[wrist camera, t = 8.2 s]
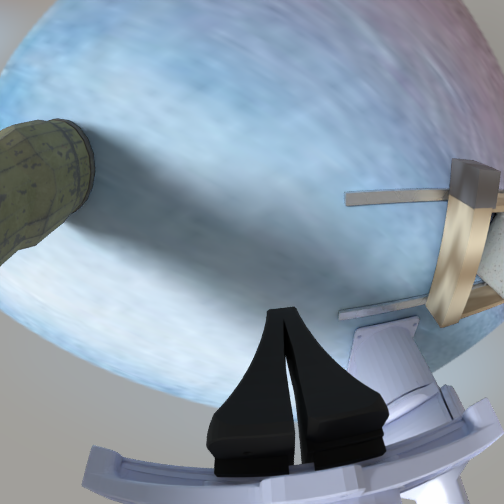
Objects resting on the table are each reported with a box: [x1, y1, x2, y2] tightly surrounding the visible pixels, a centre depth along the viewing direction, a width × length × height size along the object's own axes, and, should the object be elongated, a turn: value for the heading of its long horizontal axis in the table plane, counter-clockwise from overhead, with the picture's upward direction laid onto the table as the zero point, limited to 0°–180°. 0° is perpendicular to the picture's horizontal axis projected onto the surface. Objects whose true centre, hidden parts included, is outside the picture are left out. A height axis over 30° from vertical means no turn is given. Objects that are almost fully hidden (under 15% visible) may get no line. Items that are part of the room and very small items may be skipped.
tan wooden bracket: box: [426, 158, 504, 328], centre depth 19 cm, size 15×12×4 cm
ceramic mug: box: [477, 212, 504, 299], centre depth 18 cm, size 11×8×8 cm
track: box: [338, 188, 504, 321], centre depth 22 cm, size 13×23×1 cm, turn 97°
